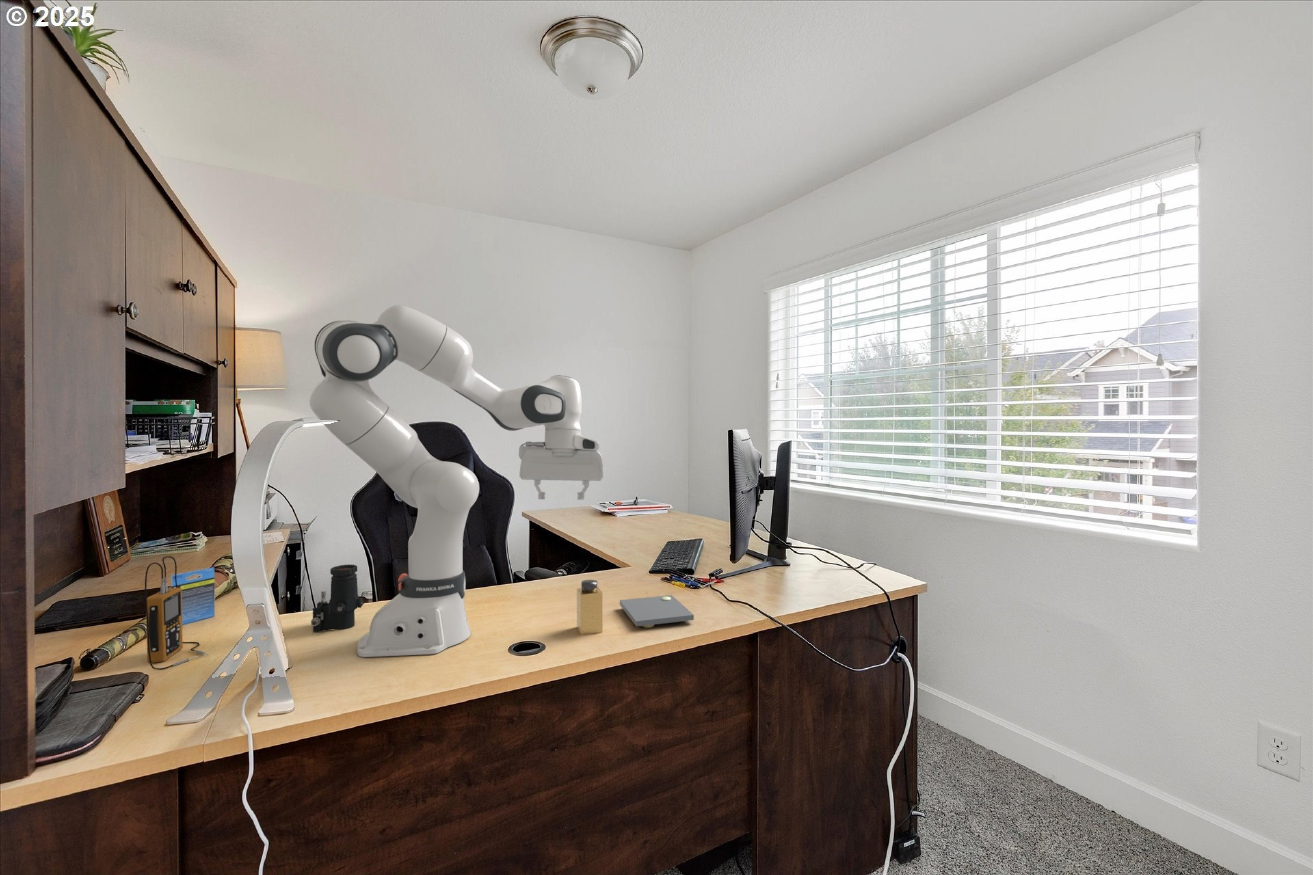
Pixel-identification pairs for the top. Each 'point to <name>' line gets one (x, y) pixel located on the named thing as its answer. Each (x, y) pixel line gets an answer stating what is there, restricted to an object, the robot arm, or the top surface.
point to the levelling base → (655, 610)
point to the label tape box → (196, 594)
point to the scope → (338, 601)
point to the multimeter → (164, 621)
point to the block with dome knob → (589, 608)
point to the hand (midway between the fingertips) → (561, 499)
